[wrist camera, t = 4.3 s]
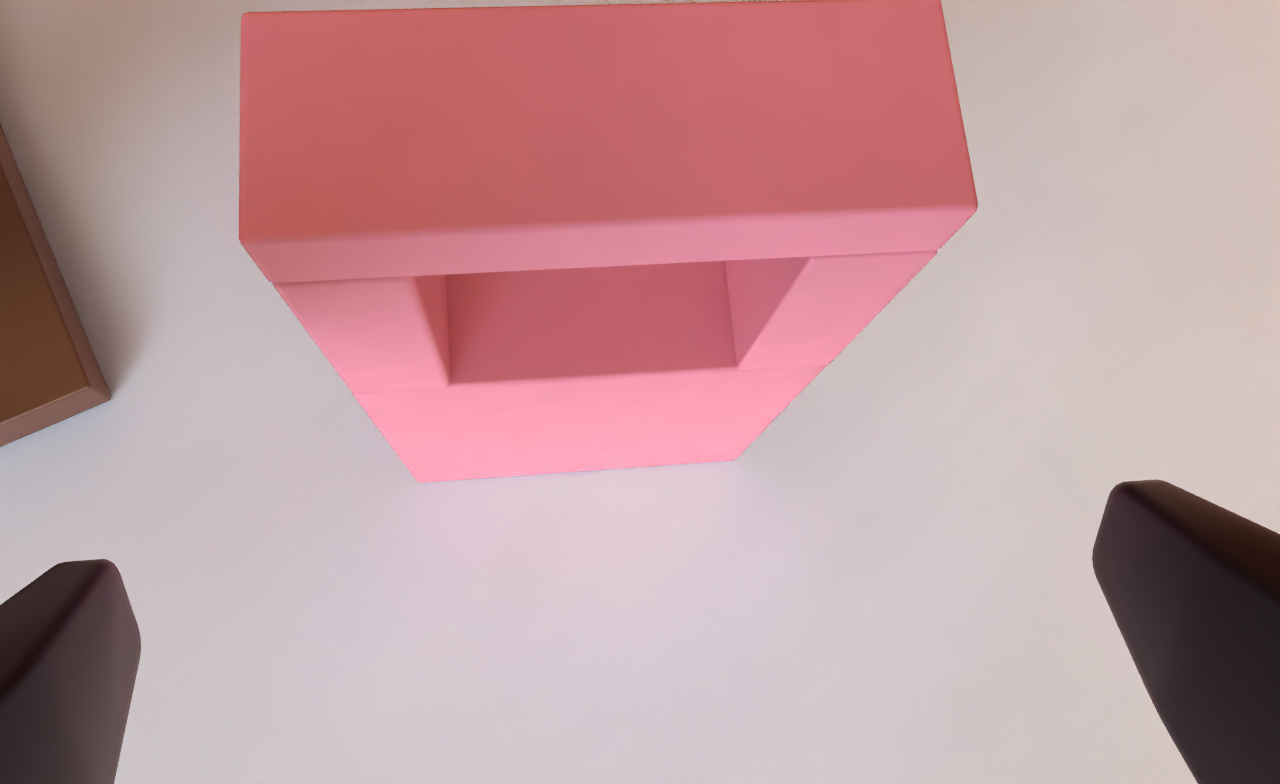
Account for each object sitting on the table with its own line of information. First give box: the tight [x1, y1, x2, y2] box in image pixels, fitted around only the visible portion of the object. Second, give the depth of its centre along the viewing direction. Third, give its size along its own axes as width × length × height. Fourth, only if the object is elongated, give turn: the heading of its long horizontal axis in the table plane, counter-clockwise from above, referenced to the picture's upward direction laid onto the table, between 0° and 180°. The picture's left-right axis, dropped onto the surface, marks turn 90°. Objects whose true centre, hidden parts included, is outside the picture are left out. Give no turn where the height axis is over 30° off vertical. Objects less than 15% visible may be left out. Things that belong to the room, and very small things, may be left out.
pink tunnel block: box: [239, 0, 978, 482], centre depth 15 cm, size 2×6×12 cm, turn 95°
